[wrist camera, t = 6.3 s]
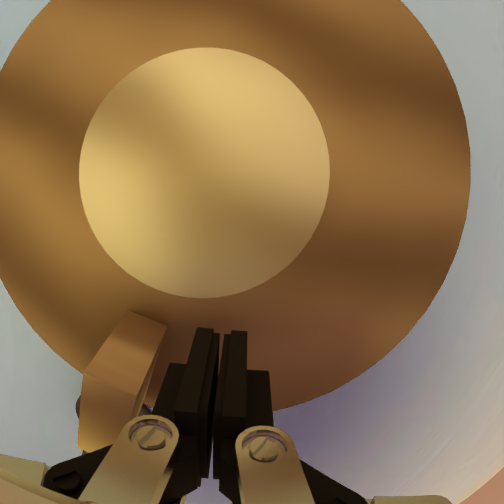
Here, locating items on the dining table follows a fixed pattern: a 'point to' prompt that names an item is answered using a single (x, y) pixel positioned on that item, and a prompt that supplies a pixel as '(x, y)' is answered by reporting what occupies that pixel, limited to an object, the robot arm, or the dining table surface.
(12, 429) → the dining table surface
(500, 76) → the dining table surface
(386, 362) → the dining table surface
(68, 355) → the disc
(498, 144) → the dining table surface
